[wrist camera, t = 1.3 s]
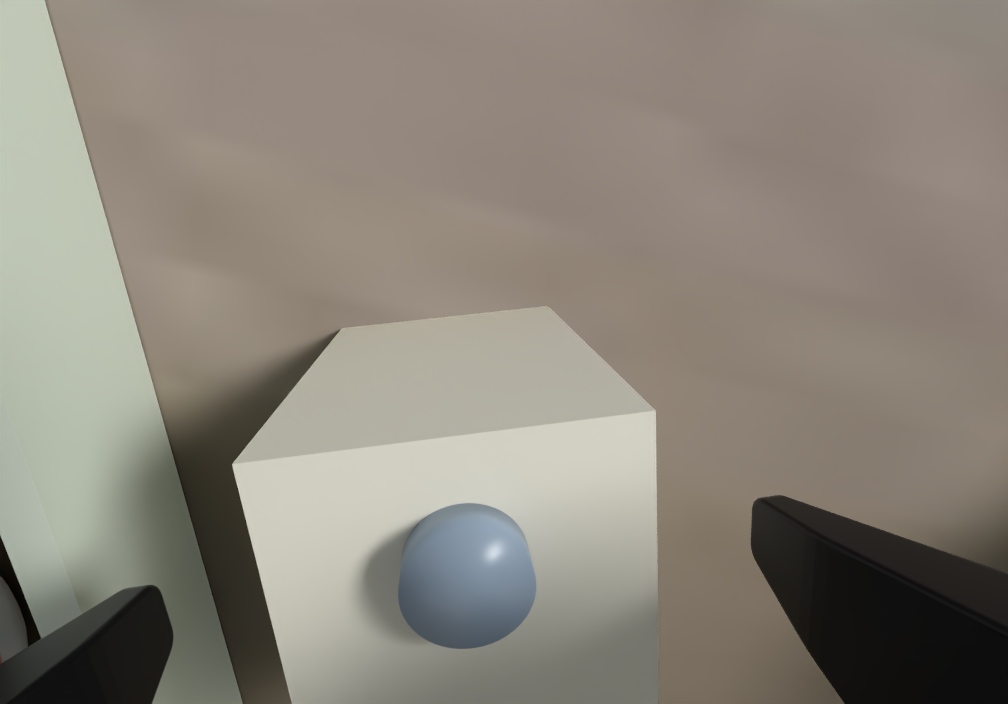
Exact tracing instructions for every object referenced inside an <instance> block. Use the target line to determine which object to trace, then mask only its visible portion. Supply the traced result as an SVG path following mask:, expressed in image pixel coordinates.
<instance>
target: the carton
mask: <svg viewBox="0 0 1008 704" xmlns="http://www.w3.org/2000/svg"><path fill="white" fill-rule="evenodd" d="M232 467H233V471H234V475H235V479H236V483H237V487H238V491H239V495H240V499H241V503H242V507H243V511H244V515H245V519H246V523H247V527H248V530H249V534H250V538H251V542H252V546H253V550H254V554H255V558H256V562H257V566H258V570H259V574H260V578H261V582H262V586H263V590H264V594H265V598H266V602H267V606H268V610H269V614H270V618H271V622H272V626H273V630H274V634H275V638H276V642H277V646H278V650H279V654H280V658H281V662H282V666H283V670H284V674H285V678H286V682H287V686H288V690H289V694H290V698H291V702H292V704H659V674H658V579H657V484H656V410H655V409H654V408H652V407H651V406H650V405H649V404H648V403H647V402H646V401H645V400H644V399H643V398H642V397H641V396H640V395H639V394H638V393H637V392H636V391H635V390H634V389H633V388H632V387H631V386H630V385H629V384H628V383H627V382H626V381H625V380H624V379H623V378H622V377H621V376H620V375H618V374H617V373H616V372H615V371H614V370H613V369H612V368H611V367H610V366H609V365H608V364H607V363H606V362H605V361H604V360H603V359H602V358H601V357H600V356H599V355H598V354H597V353H596V352H595V351H594V350H593V349H592V348H591V347H590V346H589V345H588V344H587V343H586V342H584V341H583V340H582V339H581V338H580V337H579V336H578V335H577V334H576V333H575V332H574V331H573V330H572V329H571V328H570V327H569V326H568V325H567V324H566V323H565V322H564V321H563V320H562V319H561V318H560V317H559V316H558V315H557V314H556V313H555V312H554V311H553V310H552V309H550V308H549V307H548V306H544V307H535V308H526V309H516V310H507V311H498V312H489V313H479V314H470V315H461V316H452V317H442V318H433V319H424V320H415V321H405V322H396V323H387V324H378V325H368V326H359V327H350V328H342V329H341V330H340V331H339V332H338V334H337V335H336V336H335V337H334V338H333V340H332V341H331V342H330V343H329V345H328V346H327V347H326V348H325V350H324V351H323V352H322V353H321V355H320V356H319V357H318V358H317V360H316V361H315V362H314V363H313V364H312V366H311V367H310V368H309V369H308V371H307V372H306V373H305V374H304V376H303V377H302V378H301V379H300V381H299V382H298V383H297V384H296V386H295V387H294V388H293V389H292V390H291V392H290V393H289V394H288V395H287V397H286V398H285V399H284V400H283V402H282V403H281V404H280V405H279V407H278V408H277V409H276V410H275V412H274V413H273V414H272V415H271V416H270V418H269V419H268V420H267V421H266V423H265V424H264V425H263V426H262V428H261V429H260V430H259V431H258V433H257V434H256V435H255V436H254V438H253V439H252V440H251V441H250V442H249V444H248V445H247V446H246V447H245V449H244V450H243V451H242V452H241V454H240V455H239V456H238V457H237V459H236V460H235V461H234V462H233V464H232Z"/></svg>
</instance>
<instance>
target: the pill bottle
mask: <svg viewBox="0 0 1008 704" xmlns="http://www.w3.org/2000/svg"><path fill="white" fill-rule="evenodd" d="M27 647H28V641H27V631H26V626H25V622H24V619H23V616H22V613H21V610H20V607H19V605H18V603H17V601H16V599H15V597H14V596H13V594H12V592H11V590H10V588H9V586H8V585H7V584H6V582H5V581H4V580H3V578H2V577H1V576H0V664H1V663H3V662H4V661H6V660H8V659H9V658H11V657H12V656H14V655H16V654H17V653H19V652H21V651H22V650H24V649H26V648H27Z"/></svg>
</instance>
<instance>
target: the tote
mask: <svg viewBox="0 0 1008 704" xmlns="http://www.w3.org/2000/svg"><path fill="white" fill-rule="evenodd" d="M0 536H1V538H2V541H3V543H4V546H5V548H6V551H7V553H8V556H9V558H10V561H11V563H12V566H13V568H14V571H15V573H16V576H17V578H18V581H19V583H20V586H21V589H22V591H23V594H24V596H25V599H26V601H27V604H28V606H29V609H30V611H31V614H32V616H33V619H34V621H35V624H36V626H37V629H38V631H39V634H40V636H41V639H42V638H44V637H45V636H47V635H48V634H50V633H52V632H53V631H55V630H57V629H58V628H60V627H62V626H63V625H65V624H66V623H68V622H70V621H71V620H73V619H75V618H76V617H78V616H79V615H81V614H83V613H84V612H86V611H88V610H89V609H91V608H93V607H94V606H96V605H97V604H99V603H101V602H102V601H104V600H106V599H107V598H109V597H111V596H112V595H114V594H115V593H117V592H119V591H121V590H122V589H126V588H130V587H137V586H145V585H154V586H157V587H158V588H159V589H160V591H161V593H162V596H163V599H164V603H165V606H166V609H167V612H168V616H169V619H170V622H171V625H172V629H173V636H174V637H173V646H172V650H171V653H170V656H169V658H168V661H167V664H166V667H165V669H164V672H163V675H162V678H161V680H160V683H159V686H158V689H157V691H156V694H155V697H154V700H153V703H152V704H243V703H242V699H241V695H240V692H239V688H238V685H237V681H236V678H235V674H234V671H233V667H232V664H231V660H230V656H229V653H228V649H227V646H226V642H225V639H224V635H223V632H222V628H221V625H220V621H219V617H218V614H217V610H216V607H215V603H214V600H213V596H212V593H211V589H210V586H209V582H208V578H207V575H206V571H205V568H204V564H203V561H202V557H201V554H200V550H199V547H198V543H197V539H196V536H195V532H194V529H193V525H192V522H191V518H190V515H189V511H188V507H187V504H186V500H185V497H184V493H183V490H182V486H181V483H180V479H179V476H178V472H177V468H176V465H175V461H174V458H173V454H172V451H171V447H170V444H169V440H168V437H167V433H166V429H165V426H164V422H163V419H162V415H161V412H160V408H159V405H158V401H157V398H156V394H155V390H154V387H153V383H152V380H151V376H150V373H149V369H148V366H147V362H146V359H145V355H144V351H143V348H142V344H141V341H140V337H139V334H138V330H137V327H136V323H135V320H134V316H133V312H132V309H131V305H130V302H129V298H128V295H127V291H126V288H125V284H124V280H123V277H122V273H121V270H120V266H119V263H118V259H117V256H116V252H115V249H114V245H113V241H112V238H111V234H110V231H109V227H108V224H107V220H106V217H105V213H104V210H103V206H102V202H101V199H100V195H99V192H98V188H97V185H96V181H95V178H94V174H93V171H92V167H91V163H90V160H89V156H88V153H87V149H86V146H85V142H84V139H83V135H82V132H81V128H80V124H79V121H78V117H77V114H76V110H75V107H74V103H73V100H72V96H71V93H70V89H69V85H68V82H67V78H66V75H65V71H64V68H63V64H62V61H61V57H60V53H59V50H58V46H57V43H56V39H55V36H54V32H53V29H52V25H51V22H50V18H49V14H48V11H47V7H46V4H45V0H0Z"/></svg>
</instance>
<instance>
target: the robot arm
mask: <svg viewBox="0 0 1008 704" xmlns="http://www.w3.org/2000/svg"><path fill="white" fill-rule="evenodd" d="M751 549H752V553H753V556H754V559H755V561H756V563H757V564H758V566H759V568H760V570H761V571H762V573H763V575H764V577H765V578H766V580H767V582H768V583H769V585H770V587H771V589H772V590H773V592H774V594H775V596H776V597H777V599H778V601H779V603H780V604H781V606H782V608H783V610H784V611H785V613H786V615H787V616H788V618H789V620H790V622H791V623H792V625H793V627H794V629H795V630H796V632H797V634H798V636H799V637H800V639H801V640H802V642H803V644H804V645H805V647H806V649H807V650H808V652H809V653H810V655H811V656H812V658H813V659H814V660H815V662H816V663H817V665H818V666H819V668H820V669H821V671H822V672H823V673H824V675H825V676H826V678H827V679H828V680H829V682H830V683H831V685H832V686H833V688H834V689H835V690H836V692H837V693H838V695H839V696H840V697H841V699H842V700H843V702H844V703H845V704H1008V574H1007V573H1004V572H1001V571H998V570H995V569H992V568H990V567H987V566H984V565H981V564H978V563H975V562H972V561H969V560H967V559H964V558H961V557H958V556H955V555H952V554H949V553H946V552H944V551H941V550H938V549H935V548H932V547H929V546H926V545H923V544H921V543H918V542H915V541H912V540H909V539H906V538H903V537H900V536H898V535H895V534H892V533H889V532H886V531H883V530H880V529H877V528H875V527H872V526H869V525H866V524H863V523H860V522H857V521H854V520H852V519H849V518H846V517H843V516H840V515H837V514H834V513H831V512H829V511H826V510H823V509H820V508H817V507H814V506H811V505H809V504H806V503H803V502H800V501H797V500H794V499H791V498H788V497H786V496H782V495H777V496H770V497H763V498H758V499H757V500H755V502H754V503H753V507H752V526H751ZM173 637H174V636H173V629H172V625H171V622H170V619H169V616H168V612H167V609H166V606H165V603H164V599H163V596H162V593H161V591H160V589H159V588H158V587H157V586H154V585H145V586H137V587H130V588H126V589H122V590H121V591H119V592H117V593H115V594H114V595H112V596H111V597H109V598H107V599H106V600H104V601H102V602H101V603H99V604H97V605H96V606H94V607H93V608H91V609H89V610H88V611H86V612H84V613H83V614H81V615H79V616H78V617H76V618H75V619H73V620H71V621H70V622H68V623H66V624H65V625H63V626H62V627H60V628H58V629H57V630H55V631H53V632H52V633H50V634H48V635H47V636H45V637H44V638H42V639H40V640H39V641H37V642H35V643H34V644H32V645H30V646H29V647H27V648H26V649H24V650H22V651H21V652H19V653H17V654H16V655H14V656H12V657H11V658H9V659H8V660H6V661H4V662H3V663H1V664H0V704H152V703H153V700H154V697H155V694H156V691H157V689H158V686H159V683H160V680H161V678H162V675H163V672H164V669H165V667H166V664H167V661H168V658H169V656H170V653H171V650H172V646H173Z"/></svg>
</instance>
